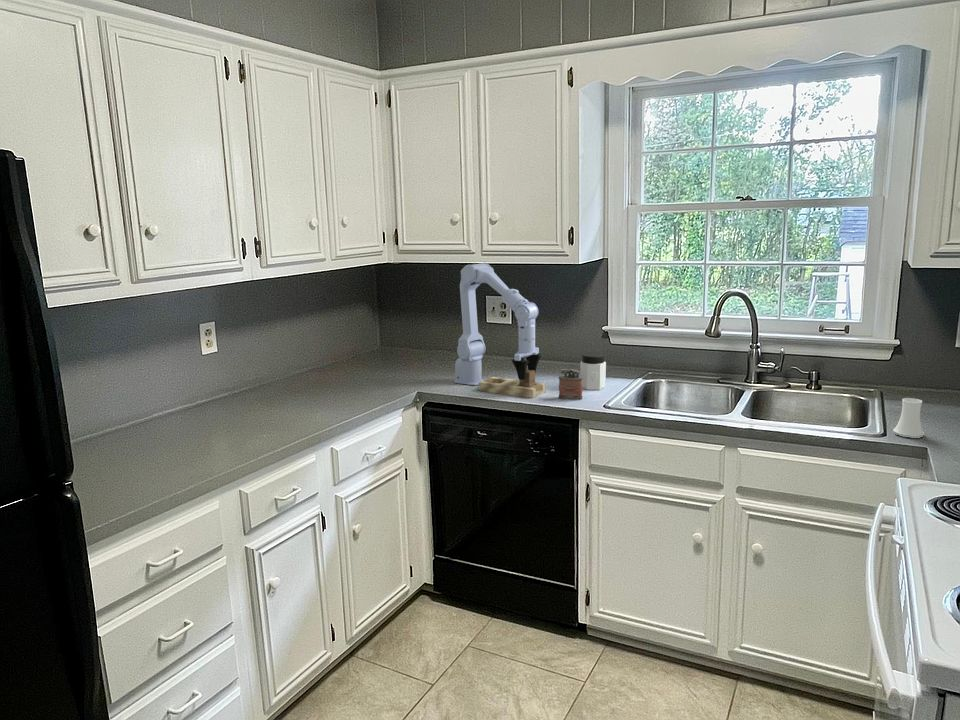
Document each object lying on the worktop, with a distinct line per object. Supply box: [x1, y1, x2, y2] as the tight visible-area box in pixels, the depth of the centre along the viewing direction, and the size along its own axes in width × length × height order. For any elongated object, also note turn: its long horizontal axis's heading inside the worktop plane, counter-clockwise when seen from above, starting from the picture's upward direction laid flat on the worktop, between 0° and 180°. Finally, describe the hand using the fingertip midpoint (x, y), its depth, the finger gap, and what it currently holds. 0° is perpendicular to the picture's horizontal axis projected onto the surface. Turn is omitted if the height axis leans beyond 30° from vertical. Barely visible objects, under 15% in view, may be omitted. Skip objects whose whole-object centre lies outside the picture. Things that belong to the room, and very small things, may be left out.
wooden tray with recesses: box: [478, 376, 546, 399], centre depth 258 cm, size 22×10×3 cm, turn 59°
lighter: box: [558, 368, 583, 401], centre depth 247 cm, size 8×3×10 cm, turn 74°
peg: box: [518, 368, 536, 388], centre depth 255 cm, size 4×4×8 cm
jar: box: [579, 351, 607, 391], centre depth 261 cm, size 9×8×12 cm
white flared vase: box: [892, 397, 925, 436], centre depth 204 cm, size 8×8×10 cm
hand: (526, 377), depth 254 cm, fingers open, 7 cm apart
